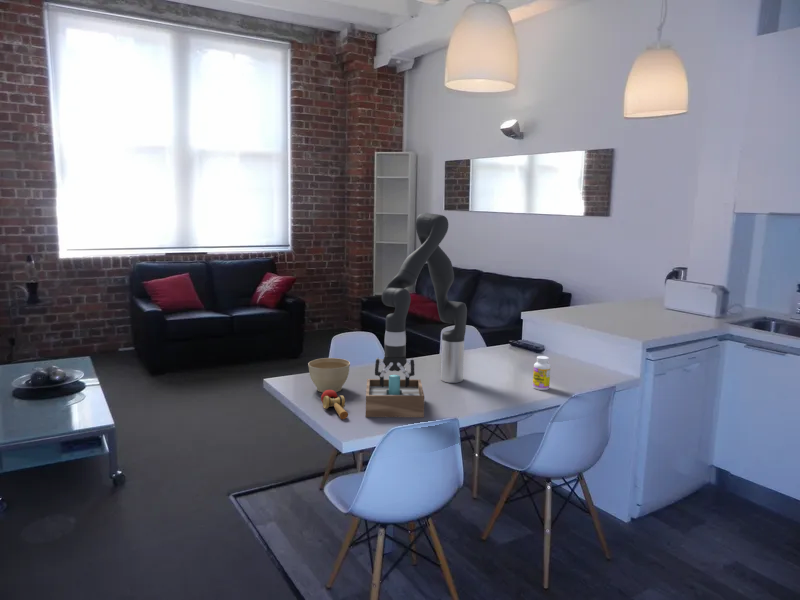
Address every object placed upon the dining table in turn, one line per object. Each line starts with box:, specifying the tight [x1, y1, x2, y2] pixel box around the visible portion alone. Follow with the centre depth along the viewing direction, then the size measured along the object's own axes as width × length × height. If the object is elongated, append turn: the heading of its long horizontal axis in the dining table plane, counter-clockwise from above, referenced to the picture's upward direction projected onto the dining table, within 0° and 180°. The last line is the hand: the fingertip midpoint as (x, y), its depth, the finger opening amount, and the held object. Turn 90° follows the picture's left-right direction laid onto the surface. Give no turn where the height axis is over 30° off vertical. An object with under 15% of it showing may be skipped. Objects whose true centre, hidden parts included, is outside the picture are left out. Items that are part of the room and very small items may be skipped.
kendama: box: [320, 390, 349, 420], centre depth 210 cm, size 8×6×18 cm
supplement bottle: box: [532, 355, 552, 391], centre depth 241 cm, size 7×7×13 cm
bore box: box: [365, 378, 425, 418], centre depth 215 cm, size 20×20×8 cm
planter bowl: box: [307, 357, 351, 393], centre depth 233 cm, size 16×16×11 cm
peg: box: [388, 374, 401, 395], centre depth 216 cm, size 4×4×11 cm
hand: (394, 386), depth 216 cm, fingers open, 8 cm apart
